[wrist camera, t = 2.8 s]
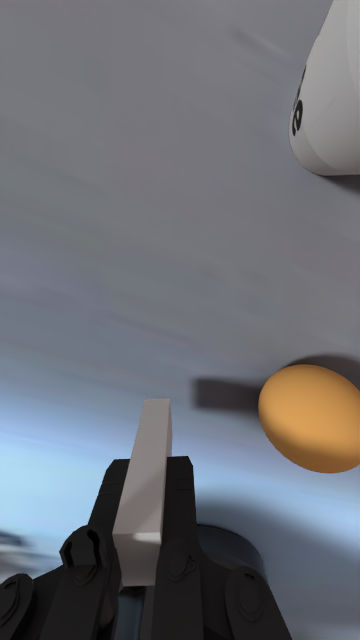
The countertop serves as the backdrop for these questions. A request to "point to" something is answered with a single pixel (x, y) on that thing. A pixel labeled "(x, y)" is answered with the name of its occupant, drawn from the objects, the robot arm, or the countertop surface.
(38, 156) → the countertop surface
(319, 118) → the cup
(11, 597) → the robot arm
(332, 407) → the ball
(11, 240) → the countertop surface
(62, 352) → the countertop surface
